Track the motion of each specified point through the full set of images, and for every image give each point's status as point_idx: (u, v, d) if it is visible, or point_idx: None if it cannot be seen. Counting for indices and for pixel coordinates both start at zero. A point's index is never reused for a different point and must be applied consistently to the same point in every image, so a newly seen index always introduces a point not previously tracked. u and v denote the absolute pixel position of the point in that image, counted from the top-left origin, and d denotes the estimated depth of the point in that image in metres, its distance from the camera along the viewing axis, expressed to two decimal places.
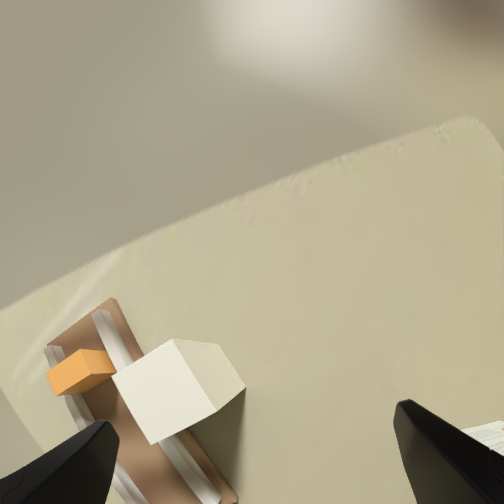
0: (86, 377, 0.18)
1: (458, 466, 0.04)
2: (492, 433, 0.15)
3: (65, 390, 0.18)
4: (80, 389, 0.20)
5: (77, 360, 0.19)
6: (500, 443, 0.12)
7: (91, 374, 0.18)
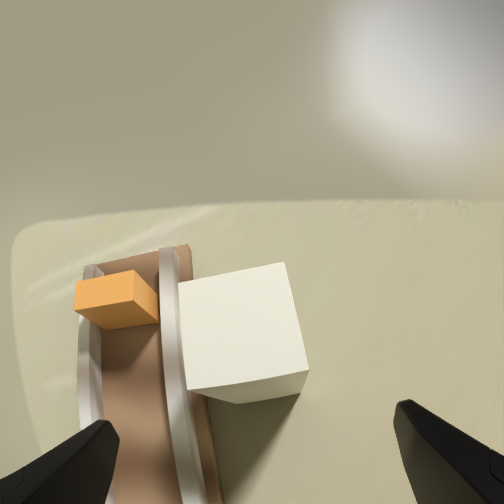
0: (124, 303, 0.17)
1: (458, 466, 0.04)
2: None
3: (89, 308, 0.17)
4: (105, 320, 0.18)
5: (123, 280, 0.17)
6: None
7: (132, 301, 0.17)
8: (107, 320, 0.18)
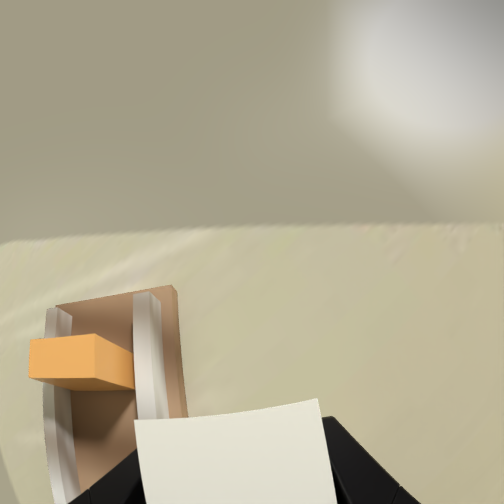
0: (85, 378, 0.11)
1: (355, 499, 0.04)
2: None
3: (45, 378, 0.11)
4: (70, 385, 0.13)
5: (82, 347, 0.12)
6: None
7: (94, 378, 0.11)
8: (72, 386, 0.13)
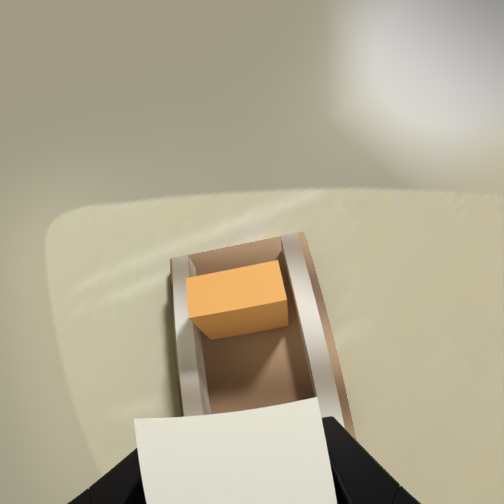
0: (271, 304, 0.13)
1: (355, 499, 0.04)
2: None
3: (214, 314, 0.13)
4: (222, 328, 0.15)
5: (266, 274, 0.14)
6: None
7: (283, 302, 0.13)
8: (225, 328, 0.15)
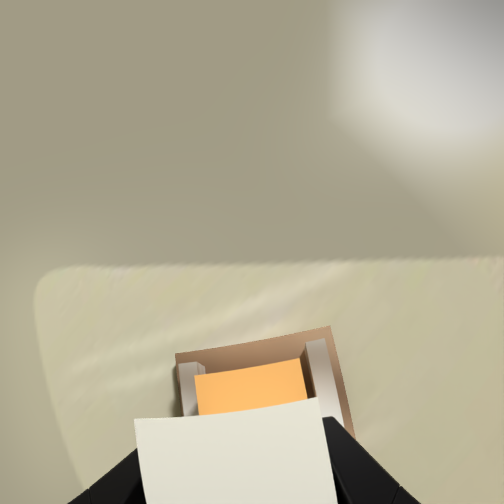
0: None
1: (355, 499, 0.04)
2: None
3: None
4: None
5: (285, 375, 0.12)
6: None
7: None
8: None
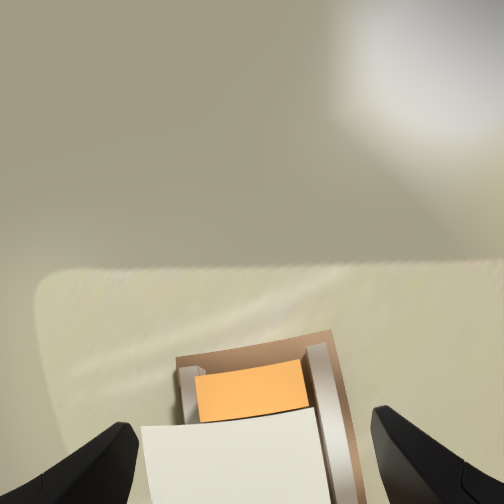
0: (291, 409, 0.11)
1: (428, 478, 0.04)
2: None
3: (229, 419, 0.11)
4: None
5: (286, 376, 0.12)
6: None
7: (304, 406, 0.11)
8: (239, 418, 0.13)
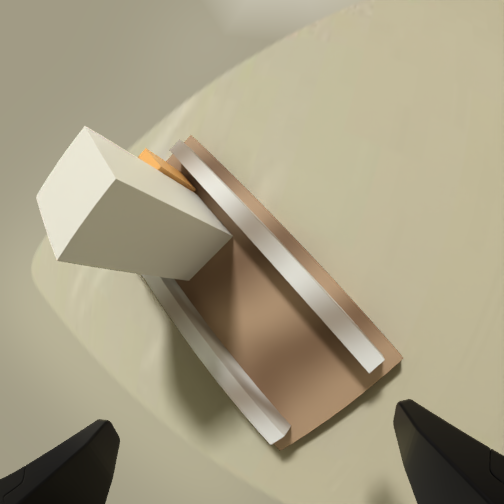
0: None
1: (458, 466, 0.04)
2: None
3: None
4: None
5: None
6: None
7: (161, 170, 0.16)
8: None
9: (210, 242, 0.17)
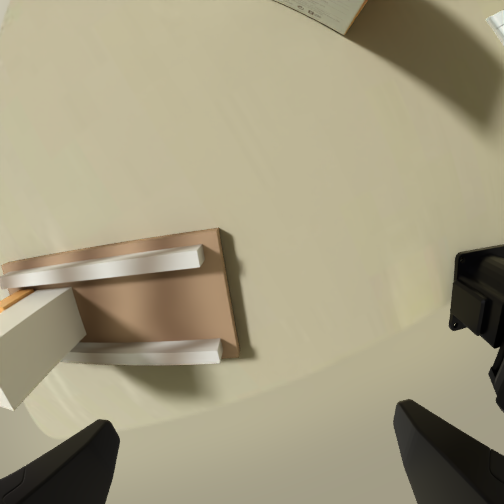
0: None
1: (458, 466, 0.04)
2: None
3: None
4: None
5: None
6: None
7: (5, 308, 0.16)
8: None
9: (63, 306, 0.19)
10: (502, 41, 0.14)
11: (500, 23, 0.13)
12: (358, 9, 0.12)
